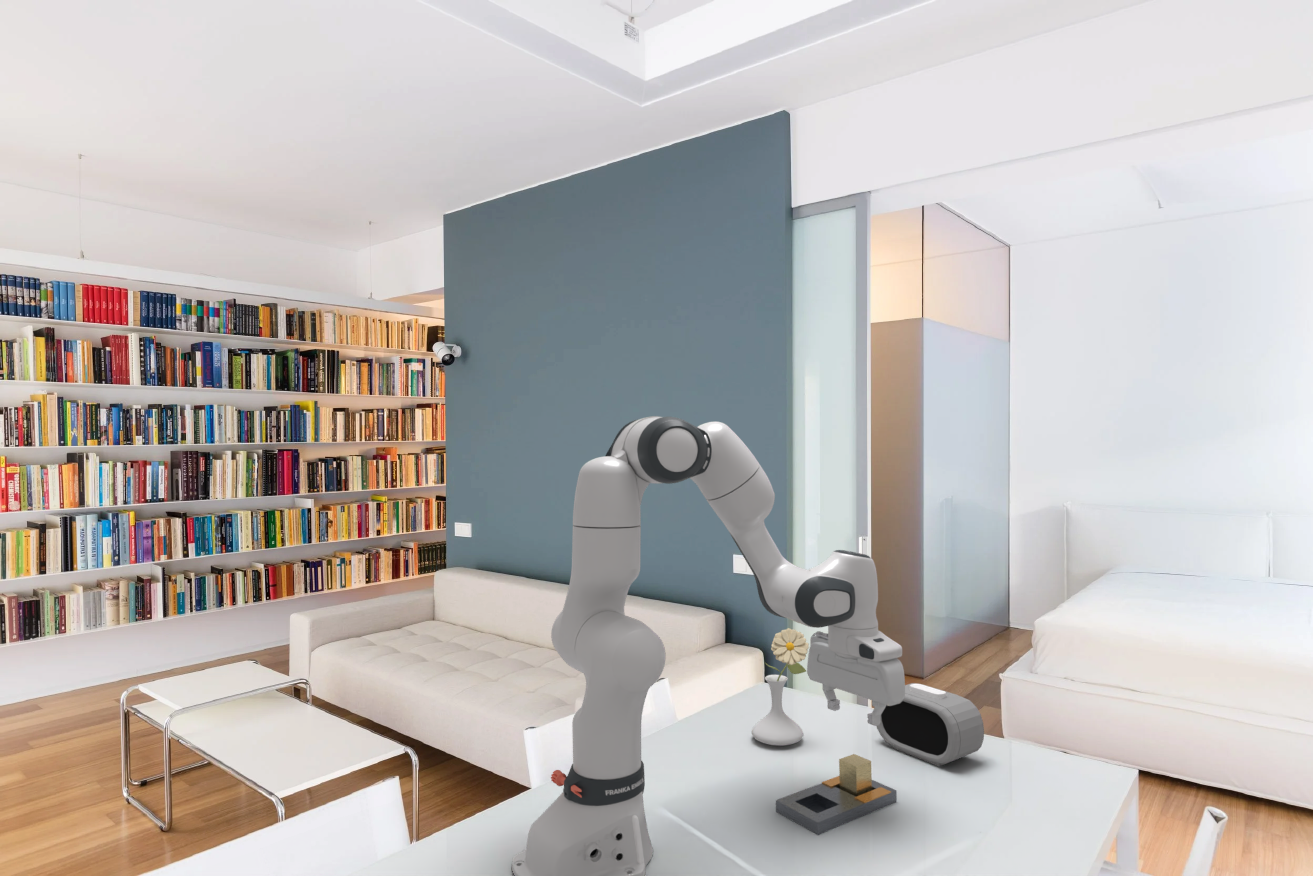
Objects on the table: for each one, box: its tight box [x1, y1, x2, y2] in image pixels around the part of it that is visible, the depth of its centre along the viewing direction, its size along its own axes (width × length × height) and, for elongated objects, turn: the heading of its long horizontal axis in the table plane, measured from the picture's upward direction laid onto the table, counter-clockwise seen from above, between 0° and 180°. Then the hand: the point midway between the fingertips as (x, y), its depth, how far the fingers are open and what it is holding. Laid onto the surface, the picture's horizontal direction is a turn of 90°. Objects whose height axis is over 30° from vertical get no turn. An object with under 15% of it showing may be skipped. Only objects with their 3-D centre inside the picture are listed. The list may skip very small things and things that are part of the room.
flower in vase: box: [751, 627, 810, 746], centre depth 171 cm, size 13×11×25 cm
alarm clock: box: [873, 682, 985, 767], centre depth 163 cm, size 21×10×13 cm, turn 33°
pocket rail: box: [775, 775, 898, 836], centre depth 137 cm, size 20×10×3 cm, turn 124°
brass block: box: [838, 753, 873, 797], centre depth 140 cm, size 4×4×7 cm
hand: (853, 716), depth 140 cm, fingers open, 8 cm apart
